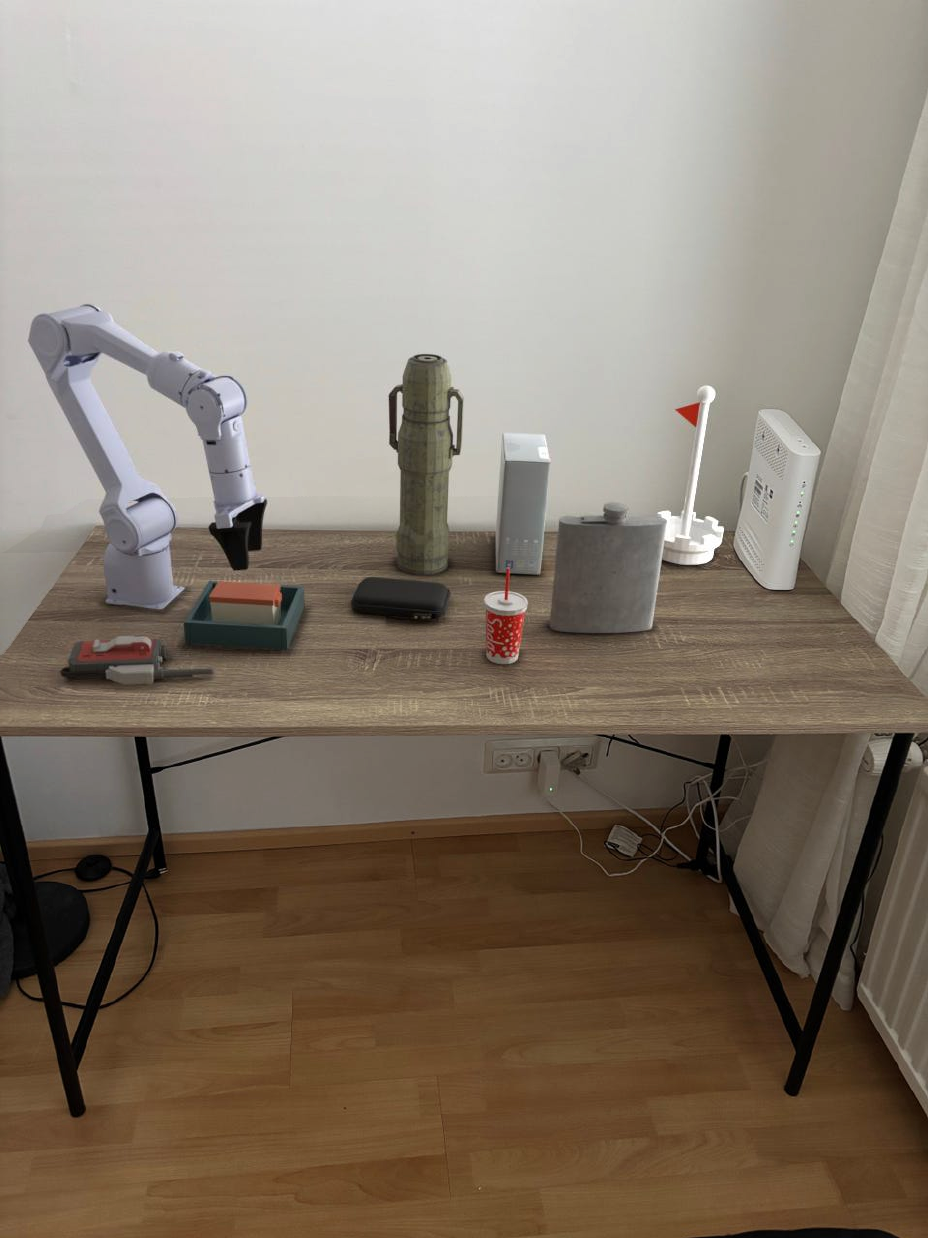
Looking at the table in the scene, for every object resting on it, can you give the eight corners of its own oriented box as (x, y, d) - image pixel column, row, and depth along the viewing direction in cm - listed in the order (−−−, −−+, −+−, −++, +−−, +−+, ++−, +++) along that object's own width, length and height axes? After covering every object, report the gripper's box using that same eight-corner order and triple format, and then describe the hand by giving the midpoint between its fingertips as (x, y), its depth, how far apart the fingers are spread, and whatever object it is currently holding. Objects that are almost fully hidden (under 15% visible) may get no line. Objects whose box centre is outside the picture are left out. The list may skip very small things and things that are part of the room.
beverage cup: (474, 649, 149) (478, 562, 142) (512, 642, 151) (518, 556, 144) (491, 670, 144) (497, 580, 137) (530, 662, 146) (538, 574, 140)
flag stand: (731, 551, 184) (760, 386, 170) (698, 574, 175) (726, 401, 161) (666, 531, 191) (689, 371, 177) (631, 552, 182) (653, 385, 168)
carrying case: (346, 620, 155) (443, 628, 154) (346, 602, 154) (443, 610, 152) (360, 589, 164) (451, 597, 163) (360, 572, 163) (452, 580, 162)
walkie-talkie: (58, 691, 134) (214, 684, 137) (53, 662, 132) (212, 656, 135) (70, 658, 142) (218, 652, 145) (65, 630, 140) (215, 624, 143)
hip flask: (649, 620, 159) (666, 499, 150) (655, 633, 155) (673, 510, 146) (547, 621, 157) (558, 499, 148) (552, 634, 154) (564, 510, 144)
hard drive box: (541, 576, 172) (551, 463, 162) (495, 574, 172) (502, 460, 162) (536, 539, 185) (545, 432, 176) (494, 537, 185) (500, 430, 176)
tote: (185, 647, 146) (183, 622, 144) (210, 603, 158) (208, 580, 156) (287, 653, 146) (286, 628, 144) (305, 609, 158) (304, 585, 156)
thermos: (391, 550, 178) (392, 348, 162) (458, 555, 178) (467, 352, 161) (383, 572, 170) (384, 362, 154) (454, 577, 170) (463, 366, 154)
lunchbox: (208, 630, 149) (206, 596, 147) (218, 613, 154) (215, 580, 151) (277, 634, 149) (276, 600, 147) (284, 617, 154) (283, 584, 151)
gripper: (244, 480, 134) (262, 576, 140) (270, 451, 148) (285, 540, 153) (192, 484, 135) (212, 580, 141) (222, 455, 148) (240, 543, 154)
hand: (247, 559), depth 147 cm, fingers open, 7 cm apart
